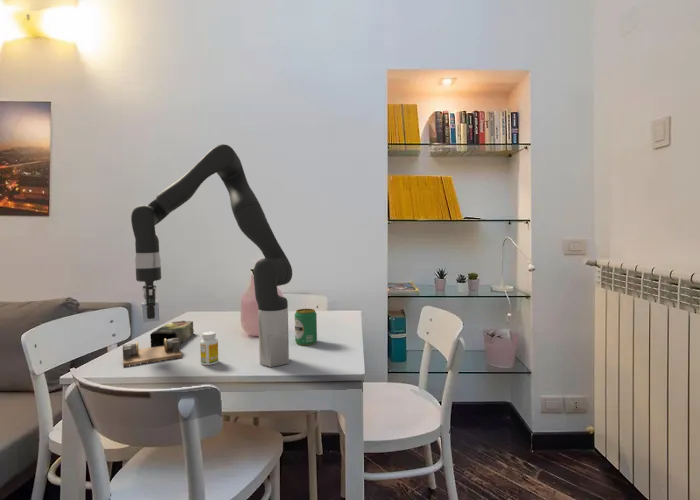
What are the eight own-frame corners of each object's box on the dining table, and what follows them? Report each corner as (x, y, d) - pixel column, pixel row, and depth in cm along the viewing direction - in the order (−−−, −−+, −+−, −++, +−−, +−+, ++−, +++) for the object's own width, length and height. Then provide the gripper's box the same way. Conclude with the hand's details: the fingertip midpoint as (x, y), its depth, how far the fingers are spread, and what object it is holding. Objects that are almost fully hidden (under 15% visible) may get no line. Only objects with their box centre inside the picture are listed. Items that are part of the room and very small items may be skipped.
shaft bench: (176, 346, 148) (176, 332, 147) (182, 357, 135) (181, 341, 135) (123, 354, 139) (122, 339, 139) (123, 367, 127) (122, 350, 127)
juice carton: (170, 333, 166) (170, 319, 166) (195, 333, 167) (194, 318, 167) (149, 349, 147) (148, 332, 146) (177, 349, 147) (176, 332, 147)
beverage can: (290, 342, 151) (290, 310, 150) (307, 338, 156) (307, 307, 156) (304, 347, 145) (303, 313, 144) (321, 342, 151) (320, 310, 150)
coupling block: (159, 320, 136) (158, 302, 135) (142, 322, 133) (141, 304, 133) (158, 318, 140) (157, 300, 140) (142, 320, 137) (141, 302, 137)
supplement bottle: (198, 366, 127) (197, 335, 127) (203, 360, 133) (202, 331, 132) (216, 365, 128) (215, 335, 127) (220, 359, 133) (219, 330, 132)
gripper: (162, 267, 131) (165, 319, 132) (158, 263, 144) (161, 311, 145) (136, 268, 127) (138, 322, 129) (134, 265, 140) (137, 314, 141)
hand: (150, 316), depth 137 cm, fingers closed on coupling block, 4 cm apart
